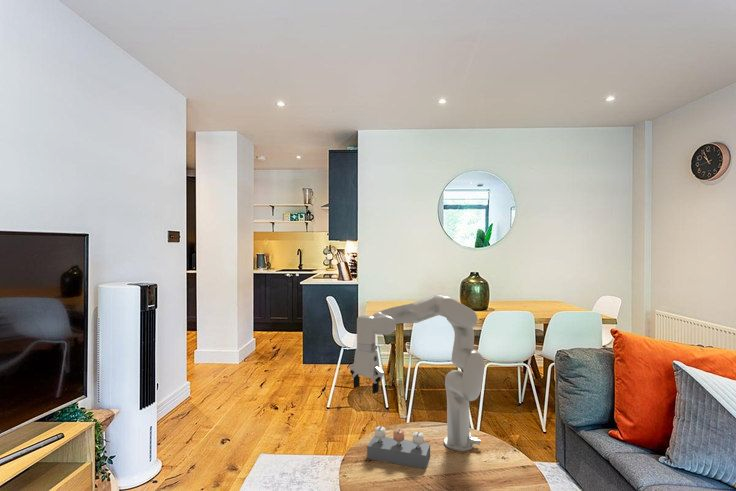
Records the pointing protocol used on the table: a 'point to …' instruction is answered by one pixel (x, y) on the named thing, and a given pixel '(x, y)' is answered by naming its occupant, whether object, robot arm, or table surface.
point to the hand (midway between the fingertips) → (365, 389)
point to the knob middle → (398, 436)
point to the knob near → (418, 439)
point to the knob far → (380, 433)
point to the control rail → (399, 452)
